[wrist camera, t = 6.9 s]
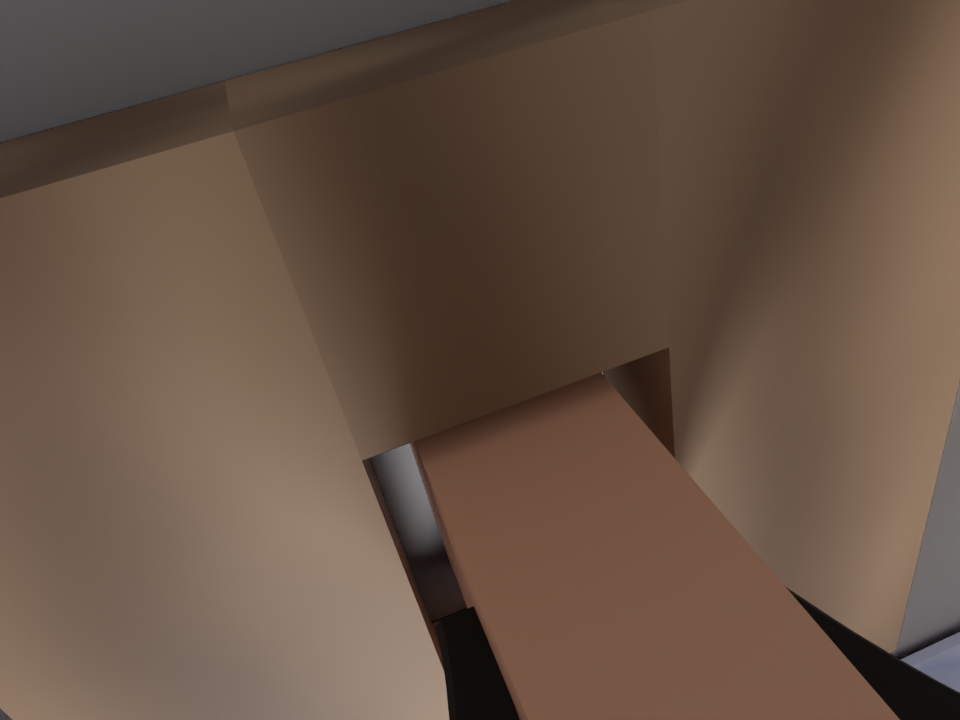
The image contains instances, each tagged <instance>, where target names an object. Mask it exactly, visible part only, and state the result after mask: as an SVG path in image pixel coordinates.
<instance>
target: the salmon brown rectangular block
mask: <svg viewBox="0 0 960 720" xmlns="http://www.w3.org/2000/svg"><path fill="white" fill-rule="evenodd" d="M410 445H411V448H412V451H413V454H414V457H415V460H416V463H417V466H418V469H419V472H420V475H421V478H422V481H423V484H424V487H425V490H426V493H427V496H428V499H429V502H430V505H431V508H432V511H433V514H434V517H435V520H436V523H437V526H438V529H439V532H440V535H441V538H442V541H443V544H444V547H445V550H446V553H447V556H448V559H449V562H450V565H451V567H452V570H453V573H454V575H455V578H456V580H457V583H458V586H459V588H460V591H461V593H462V596H463V598H464V601H465V604H466V606H467V609H468V608H470V607H473V606H474V608H475V610H476V613H477V615H478V618H479V620H480V622H481V625H482V627H483V629H484V632H485V634H486V637H487V639H488V642H489V644H490V646H491V649H492V651H493V654H494V656H495V659H496V661H497V663H498V666H499V668H500V671H501V673H502V676H503V678H504V681H505V683H506V685H507V688H508V690H509V693H510V695H511V698H512V700H513V703H514V705H515V708H516V711H517V714H518V717H519V720H900V719H899V718H898V717H897V716H896V715H895V713H894V712H893V711H892V710H891V709H890V708H889V706H888V705H887V704H886V703H885V702H884V701H883V699H882V698H881V697H880V696H879V695H878V694H877V692H876V691H875V690H874V689H873V688H872V687H871V686H870V684H869V683H868V682H867V681H866V680H865V679H864V677H863V676H862V675H861V674H860V673H859V672H858V670H857V669H856V668H855V667H854V666H853V665H852V663H851V662H850V661H849V660H848V659H847V658H846V657H845V655H844V654H843V653H842V652H841V651H840V650H839V648H838V647H837V646H836V645H835V644H834V643H833V641H832V640H831V639H830V638H829V637H828V636H827V634H826V633H825V632H824V631H823V630H822V629H821V627H820V626H819V625H818V624H817V623H816V622H815V621H814V619H813V618H812V617H811V616H810V615H809V614H808V612H807V611H806V610H805V609H804V608H803V607H802V605H801V604H800V603H799V602H798V601H797V600H796V598H795V597H794V596H793V595H792V594H791V593H790V592H789V590H788V589H787V588H786V587H785V586H784V585H783V583H782V582H781V581H780V580H779V579H778V578H777V576H776V575H775V574H774V573H773V572H772V571H771V569H770V568H769V567H768V566H767V565H766V564H765V563H764V561H763V560H762V559H761V558H760V557H759V556H758V554H757V553H756V552H755V551H754V550H753V549H752V547H751V546H750V545H749V544H748V543H747V542H746V540H745V539H744V538H743V537H742V536H741V535H740V533H739V532H738V531H737V530H736V529H735V528H734V527H733V525H732V524H731V523H730V522H729V521H728V520H727V518H726V517H725V516H724V515H723V514H722V513H721V511H720V510H719V509H718V508H717V507H716V506H715V504H714V503H713V502H712V501H711V500H710V499H709V498H708V496H707V495H706V494H705V493H704V492H703V491H702V489H701V488H700V487H699V486H698V485H697V484H696V482H695V481H694V480H693V479H692V478H691V477H690V475H689V474H688V473H687V472H686V471H685V470H684V468H683V467H682V466H681V465H680V464H679V463H678V462H677V460H676V459H675V458H674V457H673V456H672V455H671V453H670V452H669V451H668V450H667V449H666V448H665V446H664V445H663V444H662V443H661V442H660V441H659V439H658V438H657V437H656V436H655V435H654V434H653V433H652V431H651V430H650V429H649V428H648V427H647V426H646V424H645V423H644V422H643V421H642V420H641V419H640V417H639V416H638V415H637V414H636V413H635V412H634V410H633V409H632V408H631V407H630V406H629V405H628V403H627V402H626V401H625V400H624V399H623V398H622V397H621V395H620V394H619V393H618V392H617V391H616V390H615V388H614V387H613V386H612V385H611V384H610V383H609V381H608V380H607V379H606V378H605V377H604V376H603V374H602V373H598V374H595V375H592V376H590V377H587V378H584V379H582V380H579V381H576V382H574V383H571V384H568V385H565V386H563V387H560V388H557V389H555V390H552V391H549V392H546V393H544V394H541V395H538V396H536V397H533V398H530V399H527V400H525V401H522V402H519V403H517V404H514V405H511V406H508V407H506V408H503V409H500V410H498V411H495V412H492V413H490V414H487V415H484V416H481V417H479V418H476V419H473V420H471V421H468V422H465V423H462V424H460V425H457V426H454V427H452V428H449V429H446V430H443V431H441V432H438V433H435V434H433V435H430V436H427V437H425V438H422V439H419V440H416V441H414V442H411V443H410Z"/></svg>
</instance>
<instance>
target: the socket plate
mask: <svg viewBox="0 0 960 720" xmlns="http://www.w3.org/2000/svg"><path fill="white" fill-rule="evenodd" d="M603 371H604V376H605V378H606V379H607V380H608V381H609V383H610V384H611V385H612V386H613V387H614V388H615V390H616V391H617V392H618V393H619V394H620V395H621V397H622V398H623V399H624V400H625V401H626V402H627V403H628V405H629V406H630V407H631V408H632V409H633V410H634V412H635V413H636V414H637V415H638V416H639V417H640V419H641V420H642V421H643V422H644V423H645V424H646V426H647V427H648V428H649V429H650V430H651V431H652V433H653V434H654V435H655V436H656V437H657V438H658V439H659V441H660V442H661V443H662V444H663V445H664V446H665V448H666V449H667V450H668V451H669V452H670V453H671V455H672V456H673V457H674V458H675V459H676V460H677V462H678V463H679V464H680V465H681V466H682V467H683V468H684V470H685V471H686V472H687V473H688V474H689V475H690V477H691V478H692V479H693V480H694V481H695V482H696V484H697V485H698V486H699V487H700V488H701V489H702V491H703V492H704V493H705V494H706V495H707V496H708V498H709V499H710V500H711V501H712V502H713V503H714V504H715V506H716V507H717V508H718V509H719V510H720V511H721V513H722V514H723V515H724V516H725V517H726V518H727V520H728V521H729V522H730V523H731V524H732V525H733V527H734V528H735V529H736V530H737V531H738V532H739V533H740V535H741V536H742V537H743V538H744V539H745V540H746V542H747V543H748V544H749V545H750V546H751V547H752V549H753V550H754V551H755V552H756V553H757V554H758V556H759V557H760V558H761V559H762V560H763V561H764V563H765V564H766V565H767V566H768V567H769V568H770V569H771V571H772V572H773V573H774V574H775V575H776V576H777V578H778V579H779V580H780V581H781V582H782V583H783V585H784V586H786V587H787V588H789V589H790V590H791V591H793V592H794V593H796V594H797V595H799V596H800V597H802V598H803V599H805V600H806V601H808V602H809V603H811V604H812V605H814V606H815V607H817V608H818V609H820V610H821V611H823V612H824V613H826V614H827V615H829V616H830V617H832V618H833V619H835V620H837V621H838V622H840V623H841V624H843V625H844V626H846V627H848V628H849V629H851V630H852V631H854V632H855V633H857V634H859V635H860V636H862V637H864V638H865V639H867V640H869V641H870V642H872V643H873V644H875V645H877V646H878V647H880V648H882V649H883V650H885V651H887V652H888V653H891V652H894V651H896V649H897V644H898V640H899V636H900V632H901V628H902V623H903V619H904V615H905V611H906V606H907V602H908V598H909V594H910V590H911V585H912V581H913V577H914V573H915V569H916V564H917V560H918V556H919V552H920V547H921V543H922V539H923V535H924V531H925V526H926V522H927V518H928V514H929V509H930V505H931V501H932V497H933V493H934V488H935V484H936V480H937V476H938V471H939V467H940V463H941V459H942V455H943V450H944V446H945V442H946V438H947V434H948V429H949V425H950V421H951V417H952V412H953V408H954V404H955V400H956V396H957V391H958V387H959V383H960V0H515V1H511V2H507V3H504V4H500V5H496V6H493V7H489V8H486V9H482V10H478V11H475V12H471V13H468V14H464V15H460V16H457V17H453V18H450V19H446V20H442V21H439V22H435V23H431V24H428V25H424V26H421V27H417V28H413V29H410V30H406V31H403V32H399V33H395V34H392V35H388V36H384V37H381V38H377V39H374V40H370V41H366V42H363V43H359V44H356V45H352V46H348V47H345V48H341V49H338V50H334V51H330V52H327V53H323V54H319V55H316V56H312V57H309V58H305V59H301V60H298V61H294V62H291V63H287V64H283V65H280V66H276V67H272V68H269V69H265V70H262V71H258V72H254V73H251V74H247V75H244V76H240V77H236V78H233V79H229V80H226V81H222V82H218V83H215V84H211V85H207V86H204V87H200V88H197V89H193V90H189V91H186V92H182V93H179V94H175V95H171V96H168V97H164V98H160V99H157V100H153V101H150V102H146V103H142V104H139V105H135V106H132V107H128V108H124V109H121V110H117V111H114V112H110V113H106V114H103V115H99V116H95V117H92V118H88V119H85V120H81V121H77V122H74V123H70V124H67V125H63V126H59V127H56V128H52V129H48V130H45V131H41V132H38V133H34V134H30V135H27V136H23V137H20V138H16V139H12V140H9V141H5V142H2V143H0V709H1V710H2V711H4V712H5V713H6V714H7V715H8V716H9V717H10V718H11V719H12V720H449V711H448V700H447V690H446V681H445V674H444V667H443V661H442V656H441V650H440V645H439V641H438V637H437V634H436V630H435V627H436V625H437V624H438V622H439V621H440V620H439V621H436V622H434V623H431V620H430V618H429V615H428V612H427V610H426V607H425V605H424V602H423V599H422V597H421V594H420V591H419V589H418V586H417V584H416V581H415V578H414V576H413V573H412V571H411V568H410V565H409V563H408V560H407V557H406V555H405V552H404V550H403V547H402V544H401V542H400V539H399V536H398V534H397V531H396V529H395V526H394V523H393V521H392V518H391V515H390V513H389V510H388V508H387V505H386V502H385V500H384V497H383V495H382V492H381V489H380V487H379V484H378V481H377V479H376V476H375V474H374V471H373V468H372V466H371V463H370V460H369V458H370V457H373V456H376V455H378V454H381V453H384V452H387V451H389V450H392V449H395V448H397V447H400V446H403V445H406V444H408V443H411V442H414V441H416V440H419V439H422V438H425V437H427V436H430V435H433V434H435V433H438V432H441V431H443V430H446V429H449V428H452V427H454V426H457V425H460V424H462V423H465V422H468V421H471V420H473V419H476V418H479V417H481V416H484V415H487V414H490V413H492V412H495V411H498V410H500V409H503V408H506V407H508V406H511V405H514V404H517V403H519V402H522V401H525V400H527V399H530V398H533V397H536V396H538V395H541V394H544V393H546V392H549V391H552V390H555V389H557V388H560V387H563V386H565V385H568V384H571V383H574V382H576V381H579V380H582V379H584V378H587V377H590V376H592V375H595V374H598V373H601V372H603ZM460 612H461V611H460ZM443 619H444V618H443Z"/></svg>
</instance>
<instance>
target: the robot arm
mask: <svg viewBox="0 0 960 720" xmlns="http://www.w3.org/2000/svg"><path fill="white" fill-rule="evenodd" d="M785 587H786V586H785ZM786 588H787V587H786ZM787 589H788V590H789V592H790V593H791V594H792V595H793V596H794V597H795V598H796V600H797V601H798V602H799V603H800V604H801V605H802V607H803V608H804V609H805V610H806V611H807V612H808V614H809V615H810V616H811V617H812V618H813V619H814V621H815V622H816V623H817V624H818V625H819V626H820V627H821V629H822V630H823V631H824V632H825V633H826V634H827V636H828V637H829V638H830V639H831V640H832V641H833V643H834V644H835V645H836V646H837V647H838V648H839V650H840V651H841V652H842V653H843V654H844V655H845V657H846V658H847V659H848V660H849V661H850V662H851V663H852V665H853V666H854V667H855V668H856V669H857V670H858V672H859V673H860V674H861V675H862V676H863V677H864V679H865V680H866V681H867V682H868V683H869V684H870V686H871V687H872V688H873V689H874V690H875V691H876V692H877V694H878V695H879V696H880V697H881V698H882V699H883V701H884V702H885V703H886V704H887V705H888V706H889V708H890V709H891V710H892V711H893V712H894V713H895V715H896V716H897V717H898V718H899V719H900V720H960V632H958V633H956V634H954V635H952V636H950V637H947V638H945V639H943V640H941V641H939V642H937V643H935V644H932V645H930V646H928V647H926V648H924V649H922V650H920V651H918V652H915V653H913V654H911V655H909V656H907V657H905V658H903V659H898V658H897V657H895V656H893V655H892V654H890V653H888V652H887V651H885V650H883V649H882V648H880V647H878V646H877V645H875V644H873V643H872V642H870V641H869V640H867V639H865V638H864V637H862V636H860V635H859V634H857V633H855V632H854V631H852V630H851V629H849V628H848V627H846V626H844V625H843V624H841V623H840V622H838V621H837V620H835V619H833V618H832V617H830V616H829V615H827V614H826V613H824V612H823V611H821V610H820V609H818V608H817V607H815V606H814V605H812V604H811V603H809V602H808V601H806V600H805V599H803V598H802V597H800V596H799V595H797V594H796V593H794V592H793V591H791V590H790V589H789V588H787ZM435 630H436V634H437V637H438V641H439V645H440V650H441V656H442V661H443V667H444V674H445V681H446V690H447V700H448V711H449V720H519V717H518V714H517V711H516V708H515V705H514V703H513V700H512V698H511V695H510V693H509V690H508V688H507V685H506V683H505V681H504V678H503V676H502V673H501V671H500V668H499V666H498V663H497V661H496V659H495V656H494V654H493V651H492V649H491V646H490V644H489V642H488V639H487V637H486V634H485V632H484V629H483V627H482V625H481V622H480V620H479V618H478V615H477V613H476V610H475V608H474V606H473V607H470V608H468V609H465V610H463V611H461V612H458V613H456V614H453V615H451V616H448V617H446V618H444V619H441V620H440V621H439V622H438V624H437V625H436V627H435Z"/></svg>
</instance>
